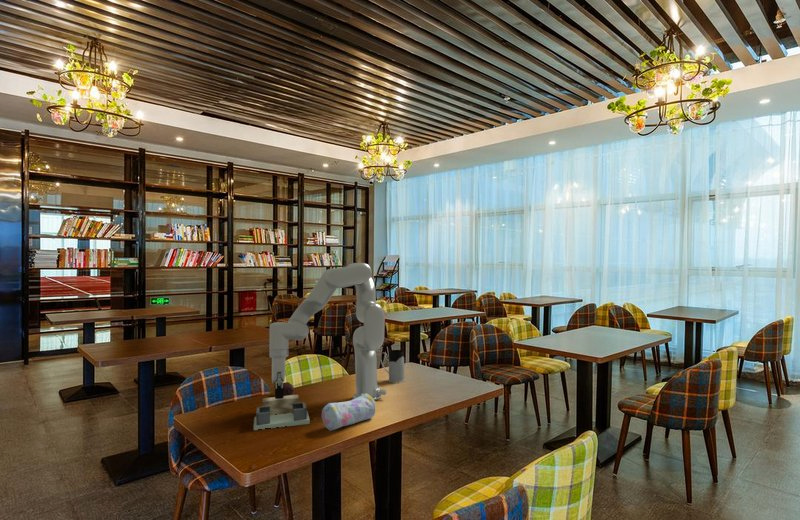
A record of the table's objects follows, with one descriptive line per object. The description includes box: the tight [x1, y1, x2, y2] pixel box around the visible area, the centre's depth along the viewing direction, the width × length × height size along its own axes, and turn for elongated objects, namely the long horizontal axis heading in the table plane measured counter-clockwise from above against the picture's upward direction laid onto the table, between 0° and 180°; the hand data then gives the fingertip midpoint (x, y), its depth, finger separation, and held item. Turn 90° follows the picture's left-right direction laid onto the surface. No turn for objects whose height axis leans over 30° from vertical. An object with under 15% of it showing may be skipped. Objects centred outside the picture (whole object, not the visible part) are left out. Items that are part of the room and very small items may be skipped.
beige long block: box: [262, 394, 300, 415], centre depth 188 cm, size 14×5×6 cm, turn 107°
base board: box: [253, 411, 311, 431], centre depth 175 cm, size 20×11×2 cm, turn 106°
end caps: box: [255, 401, 308, 425], centre depth 175 cm, size 18×9×4 cm, turn 106°
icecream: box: [283, 381, 294, 396], centre depth 210 cm, size 7×7×15 cm
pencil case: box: [321, 393, 376, 432], centre depth 171 cm, size 21×9×10 cm, turn 137°
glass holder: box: [379, 349, 406, 384], centre depth 235 cm, size 9×14×15 cm, turn 57°
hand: (278, 395), depth 187 cm, fingers open, 9 cm apart
